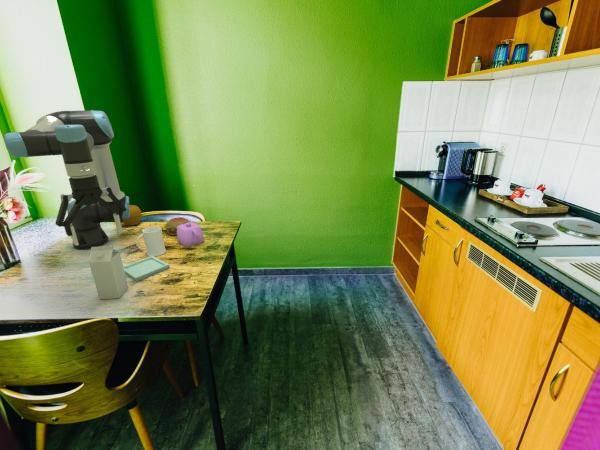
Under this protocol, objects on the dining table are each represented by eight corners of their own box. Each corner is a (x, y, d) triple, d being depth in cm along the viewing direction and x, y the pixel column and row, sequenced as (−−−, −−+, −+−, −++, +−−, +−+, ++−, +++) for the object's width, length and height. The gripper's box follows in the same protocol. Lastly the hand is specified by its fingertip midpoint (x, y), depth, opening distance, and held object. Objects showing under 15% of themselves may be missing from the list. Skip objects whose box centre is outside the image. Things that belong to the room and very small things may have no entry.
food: (168, 239, 160) (166, 224, 157) (163, 230, 171) (161, 217, 169) (195, 233, 167) (193, 219, 164) (189, 225, 178) (187, 213, 175)
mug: (140, 260, 137) (135, 235, 133) (137, 253, 144) (132, 230, 139) (168, 253, 144) (163, 229, 139) (163, 247, 150) (159, 224, 146)
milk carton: (109, 288, 115) (96, 242, 108) (128, 287, 116) (117, 242, 109) (99, 299, 109) (85, 251, 102) (120, 298, 109) (107, 250, 102)
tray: (120, 271, 128) (119, 267, 127) (153, 259, 138) (152, 255, 137) (136, 282, 119) (135, 278, 119) (169, 268, 130) (168, 264, 129)
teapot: (173, 239, 159) (170, 221, 156) (192, 234, 166) (189, 216, 162) (188, 250, 147) (185, 230, 143) (208, 243, 154) (206, 224, 150)
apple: (126, 229, 174) (122, 210, 170) (115, 225, 180) (110, 207, 176) (148, 222, 184) (144, 204, 180) (136, 219, 190) (132, 201, 186)
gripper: (36, 184, 85) (58, 253, 92) (128, 171, 103) (141, 229, 111) (29, 181, 89) (51, 247, 97) (118, 169, 108) (131, 225, 115)
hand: (99, 237), depth 104 cm, fingers open, 13 cm apart
